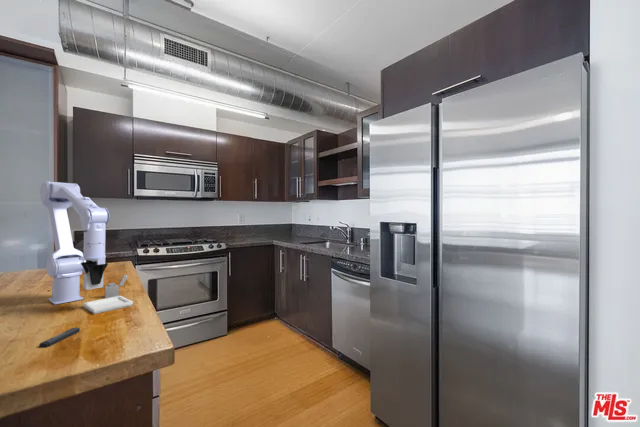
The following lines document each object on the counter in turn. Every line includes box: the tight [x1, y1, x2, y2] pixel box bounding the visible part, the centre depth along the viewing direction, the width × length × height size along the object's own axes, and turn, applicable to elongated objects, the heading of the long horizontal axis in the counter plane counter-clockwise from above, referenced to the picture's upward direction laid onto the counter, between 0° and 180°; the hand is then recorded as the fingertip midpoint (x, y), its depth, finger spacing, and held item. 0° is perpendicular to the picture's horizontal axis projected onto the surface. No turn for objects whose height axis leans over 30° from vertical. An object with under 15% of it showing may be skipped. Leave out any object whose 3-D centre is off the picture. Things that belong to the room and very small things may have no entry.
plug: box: [82, 272, 104, 291], centre depth 94 cm, size 4×4×6 cm
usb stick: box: [38, 327, 80, 348], centre depth 72 cm, size 10×3×2 cm, turn 1°
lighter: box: [104, 274, 129, 299], centre depth 108 cm, size 7×2×8 cm, turn 130°
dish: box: [82, 295, 134, 315], centre depth 97 cm, size 11×11×1 cm
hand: (94, 283), depth 94 cm, fingers closed on plug, 3 cm apart
